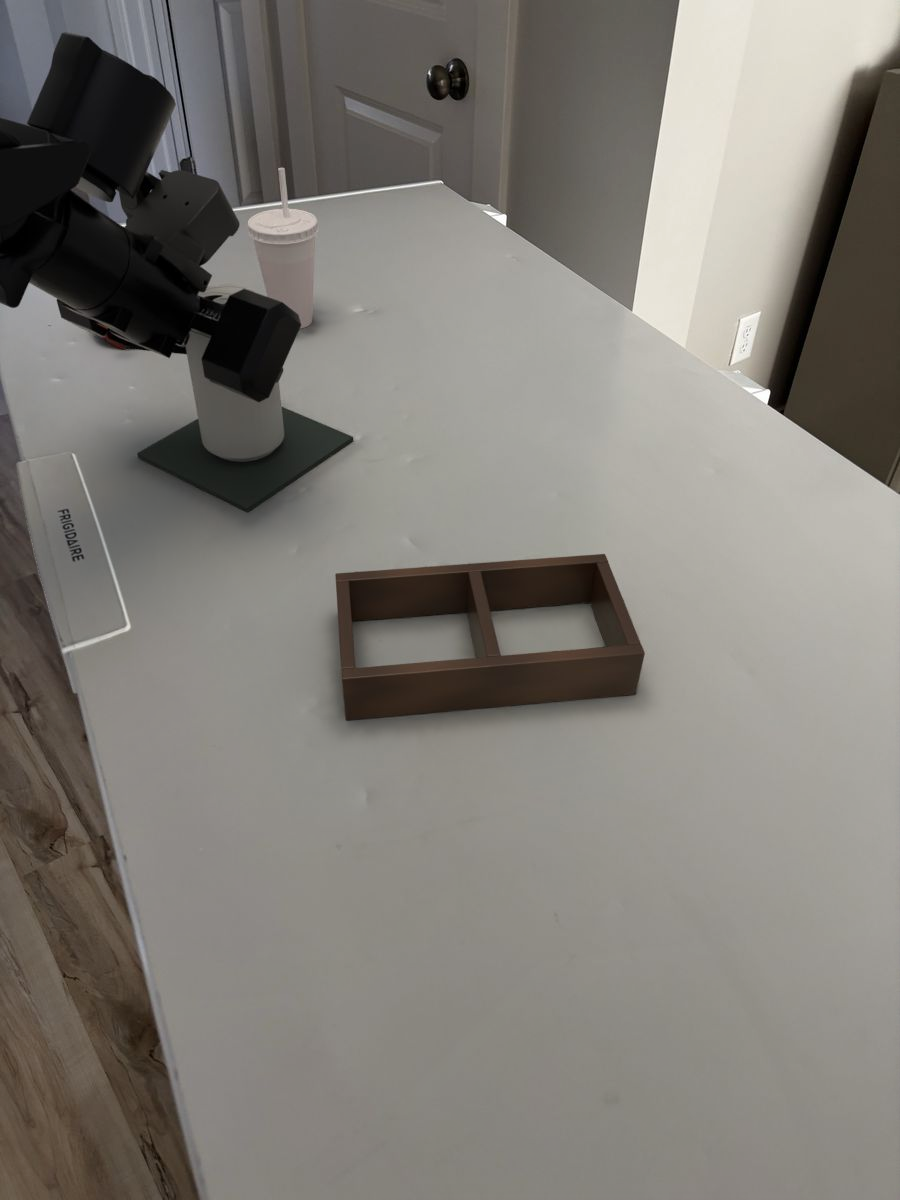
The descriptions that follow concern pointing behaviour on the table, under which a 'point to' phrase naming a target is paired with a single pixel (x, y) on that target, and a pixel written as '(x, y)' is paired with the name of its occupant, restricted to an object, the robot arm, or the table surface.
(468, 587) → the stand
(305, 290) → the smoothie
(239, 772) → the table surface
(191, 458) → the mat
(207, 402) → the beverage can
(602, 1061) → the table surface
